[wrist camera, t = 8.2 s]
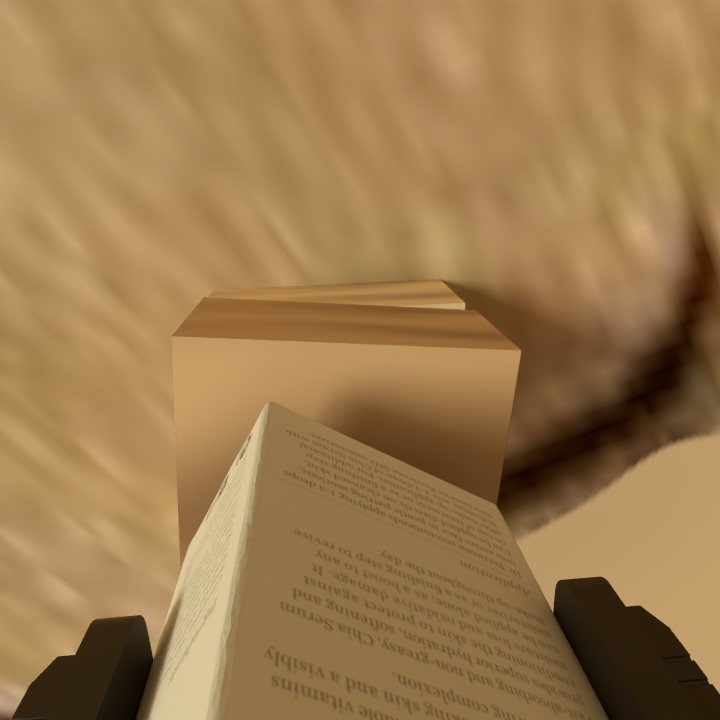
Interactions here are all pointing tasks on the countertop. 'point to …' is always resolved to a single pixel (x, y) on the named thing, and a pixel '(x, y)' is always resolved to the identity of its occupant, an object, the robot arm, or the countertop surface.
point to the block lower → (358, 294)
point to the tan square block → (341, 388)
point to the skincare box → (356, 597)
